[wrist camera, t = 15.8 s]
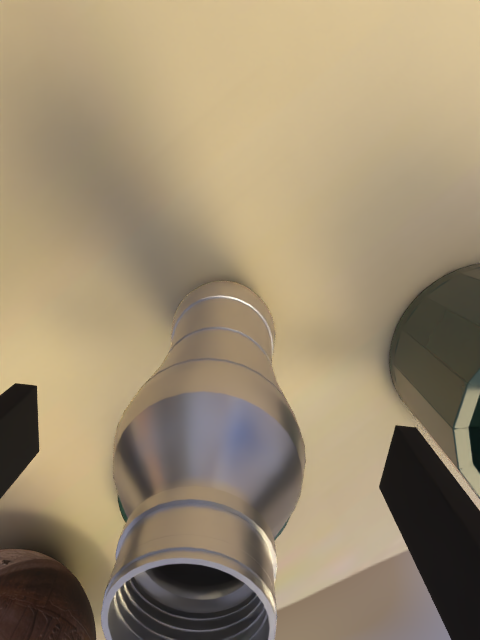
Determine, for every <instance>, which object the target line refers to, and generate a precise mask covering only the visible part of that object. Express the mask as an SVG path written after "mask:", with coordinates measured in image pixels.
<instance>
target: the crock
mask: <svg viewBox="0 0 480 640" xmlns="http://www.w3.org/2000/svg"><path fill="white" fill-rule="evenodd" d="M389 363H390V373H391V377H392V381H393V384H394V386H395V389H396V391H397V393H398V394H399V396H400V398H401V399H402V401H403V402H404V403H405V404H406V406H407V407H408V408H409V410H410V411H411V412H412V414H413V415H414V416H415V418H416V419H417V420H418V422H419V423H420V424H421V425H422V427H423V428H424V429H425V430H426V432H427V433H428V434H429V436H430V437H431V438H432V439H433V441H434V442H435V443H436V444H437V446H438V447H439V448H440V449H441V451H442V452H443V453H444V455H445V456H446V457H447V458H448V460H449V461H450V462H451V463H452V465H453V466H454V467H455V468H456V470H457V471H458V472H459V474H460V475H461V476H462V477H463V479H464V480H465V481H466V482H467V484H468V485H469V486H470V487H471V489H472V490H473V491H474V493H475V494H476V495H477V496H478V498H479V499H480V264H475V265H470V266H467V267H464V268H461V269H458V270H456V271H454V272H452V273H450V274H447V275H445V276H444V277H442V278H440V279H439V280H437V281H435V282H434V283H433V284H431V285H430V286H429V287H428V288H426V289H425V290H424V291H423V292H422V293H421V294H420V295H419V296H418V297H417V298H416V299H415V300H414V301H413V302H412V303H411V305H410V306H409V307H408V308H407V310H406V311H405V313H404V314H403V316H402V318H401V319H400V321H399V323H398V326H397V328H396V330H395V333H394V336H393V339H392V343H391V349H390V361H389Z"/></svg>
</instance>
